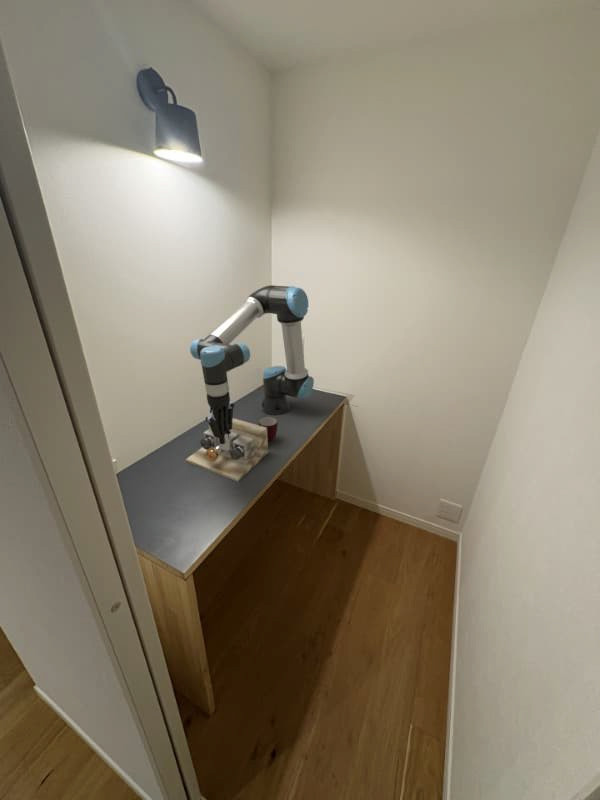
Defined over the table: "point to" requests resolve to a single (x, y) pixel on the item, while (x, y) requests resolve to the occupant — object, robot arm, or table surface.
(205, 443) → the knob
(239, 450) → the knob
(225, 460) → the mount
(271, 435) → the mug
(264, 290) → the robot arm
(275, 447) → the table surface
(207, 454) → the knob middle
